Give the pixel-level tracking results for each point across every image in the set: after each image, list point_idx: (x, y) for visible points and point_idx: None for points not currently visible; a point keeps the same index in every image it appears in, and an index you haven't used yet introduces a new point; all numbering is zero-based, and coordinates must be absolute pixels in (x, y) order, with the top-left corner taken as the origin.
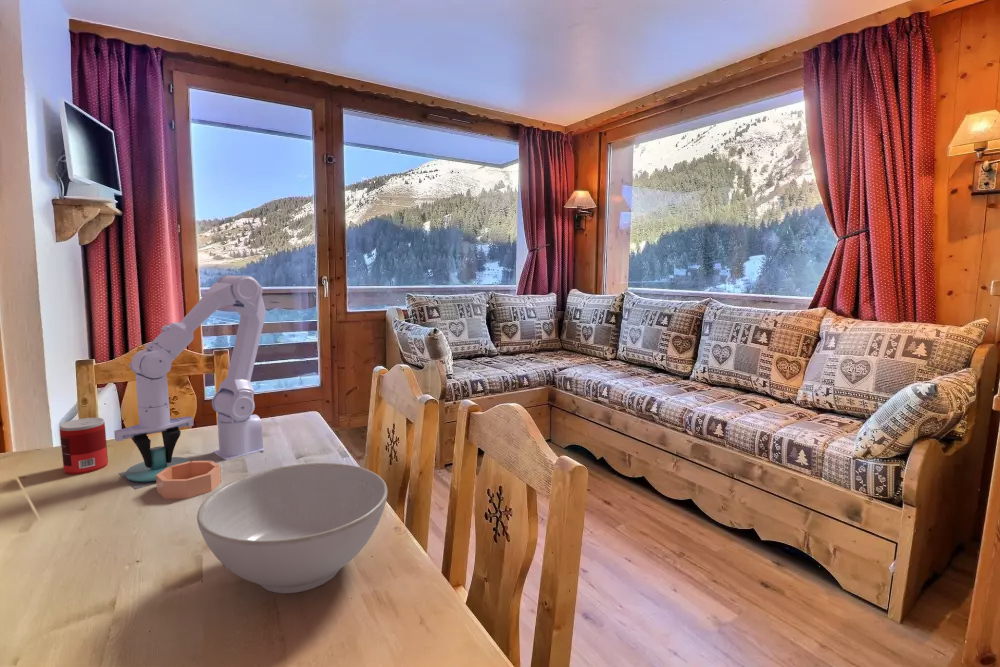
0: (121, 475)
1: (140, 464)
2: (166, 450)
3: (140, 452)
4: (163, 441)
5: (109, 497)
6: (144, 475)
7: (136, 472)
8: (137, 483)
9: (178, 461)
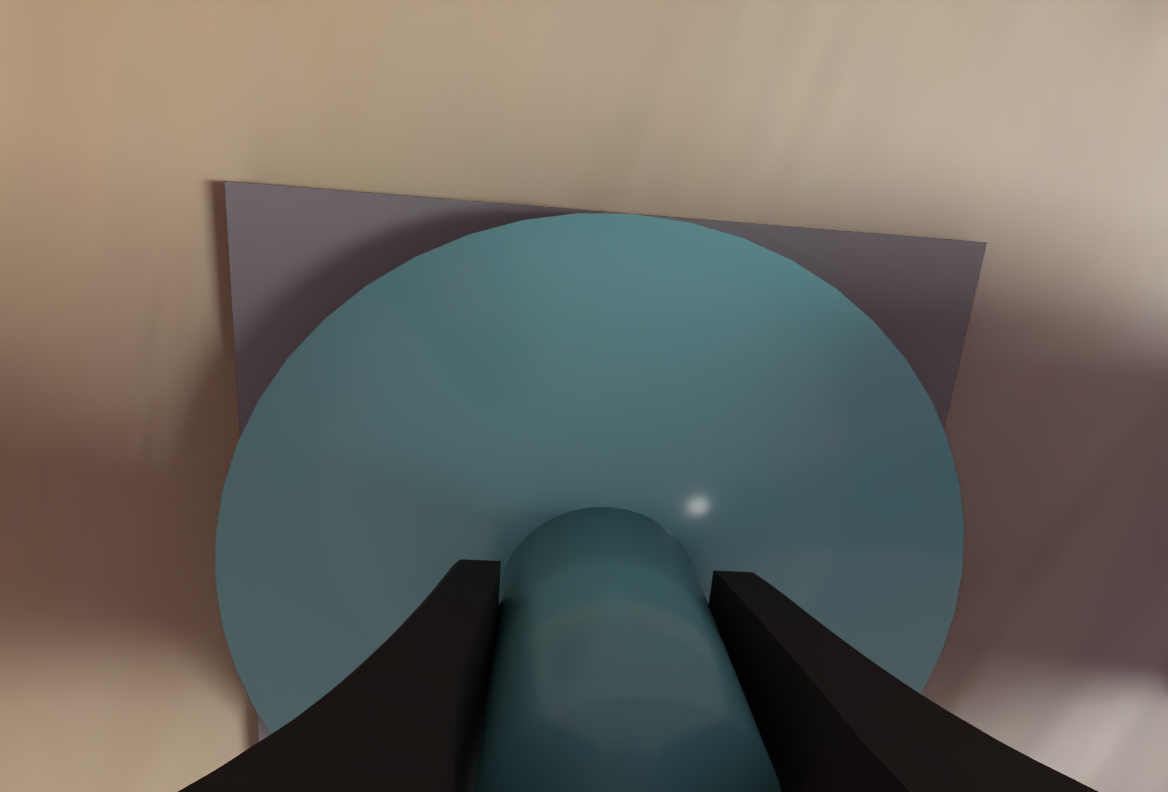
0: (235, 305)
1: (466, 308)
2: None
3: (358, 667)
4: (864, 760)
5: (48, 782)
6: None
7: (334, 588)
8: None
9: (846, 590)
